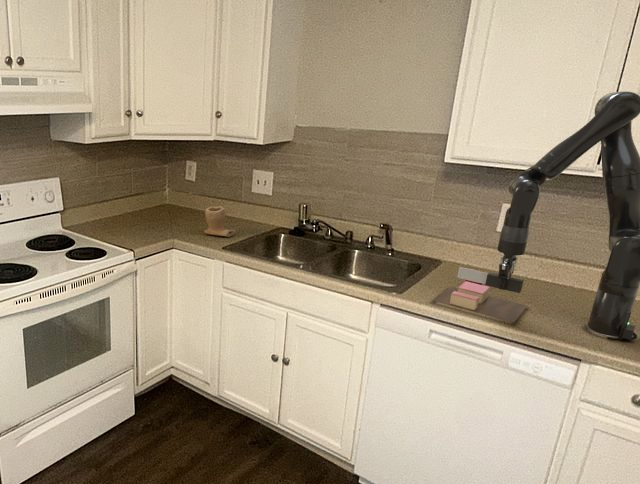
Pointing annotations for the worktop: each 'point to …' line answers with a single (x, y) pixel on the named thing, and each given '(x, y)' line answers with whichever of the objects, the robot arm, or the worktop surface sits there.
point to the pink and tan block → (464, 300)
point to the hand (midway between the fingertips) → (503, 287)
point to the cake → (475, 290)
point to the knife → (489, 279)
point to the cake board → (488, 306)
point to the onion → (473, 281)
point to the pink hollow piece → (217, 222)
